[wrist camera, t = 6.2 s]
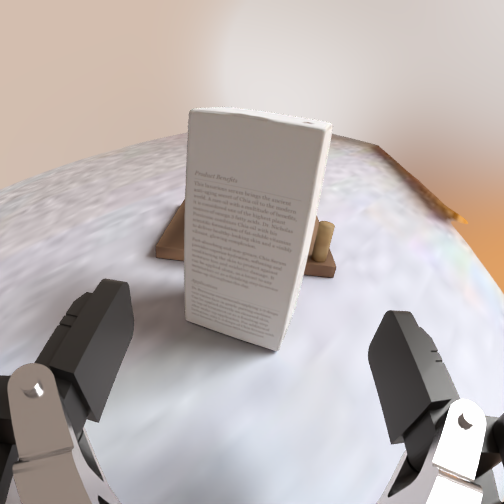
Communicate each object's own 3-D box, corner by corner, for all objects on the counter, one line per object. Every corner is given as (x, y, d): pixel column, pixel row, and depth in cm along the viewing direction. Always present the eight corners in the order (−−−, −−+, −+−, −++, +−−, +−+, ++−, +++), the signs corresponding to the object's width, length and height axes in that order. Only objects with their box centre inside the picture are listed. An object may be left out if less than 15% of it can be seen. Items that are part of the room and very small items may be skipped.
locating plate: (156, 257, 24) (154, 210, 22) (185, 205, 33) (187, 170, 31) (333, 277, 24) (346, 232, 22) (313, 220, 34) (320, 186, 32)
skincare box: (295, 310, 20) (337, 123, 14) (278, 354, 17) (328, 128, 11) (211, 284, 22) (226, 105, 16) (181, 320, 18) (186, 107, 12)
